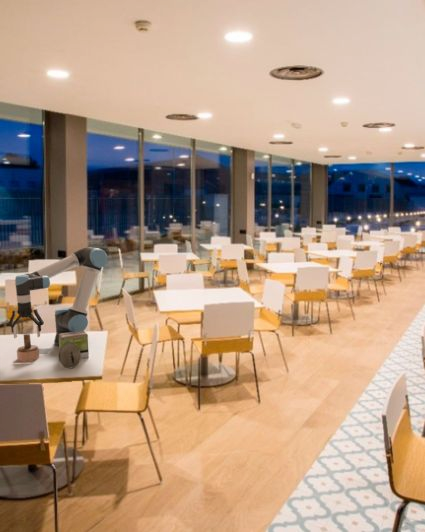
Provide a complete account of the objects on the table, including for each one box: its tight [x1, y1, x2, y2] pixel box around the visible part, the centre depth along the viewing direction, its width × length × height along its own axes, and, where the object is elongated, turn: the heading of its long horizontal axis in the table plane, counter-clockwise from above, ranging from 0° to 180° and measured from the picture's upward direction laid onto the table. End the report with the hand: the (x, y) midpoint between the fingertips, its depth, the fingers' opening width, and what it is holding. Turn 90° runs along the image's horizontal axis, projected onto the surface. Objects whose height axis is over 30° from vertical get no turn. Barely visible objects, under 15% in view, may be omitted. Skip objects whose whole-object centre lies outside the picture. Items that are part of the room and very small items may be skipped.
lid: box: [17, 333, 39, 352], centre depth 322 cm, size 11×11×9 cm
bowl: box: [16, 347, 40, 362], centre depth 323 cm, size 12×12×6 cm
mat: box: [39, 347, 52, 355], centre depth 336 cm, size 11×11×1 cm
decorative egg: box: [58, 341, 81, 369], centre depth 305 cm, size 12×12×15 cm
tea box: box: [58, 330, 90, 360], centre depth 323 cm, size 15×10×15 cm, turn 117°
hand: (27, 337), depth 322 cm, fingers open, 13 cm apart
